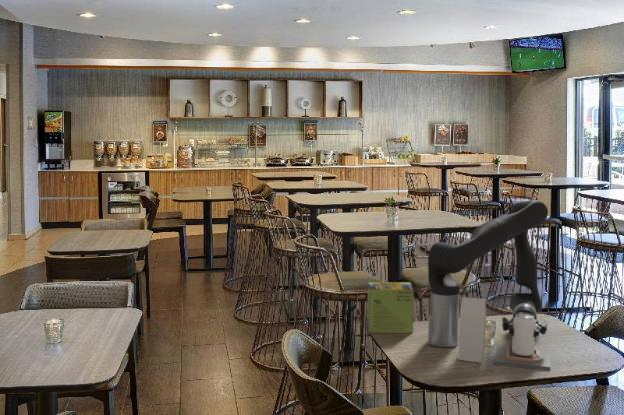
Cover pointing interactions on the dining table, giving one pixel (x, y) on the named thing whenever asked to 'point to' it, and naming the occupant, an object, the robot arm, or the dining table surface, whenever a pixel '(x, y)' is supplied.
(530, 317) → the can
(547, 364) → the seat plate
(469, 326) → the milk carton
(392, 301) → the protein box
